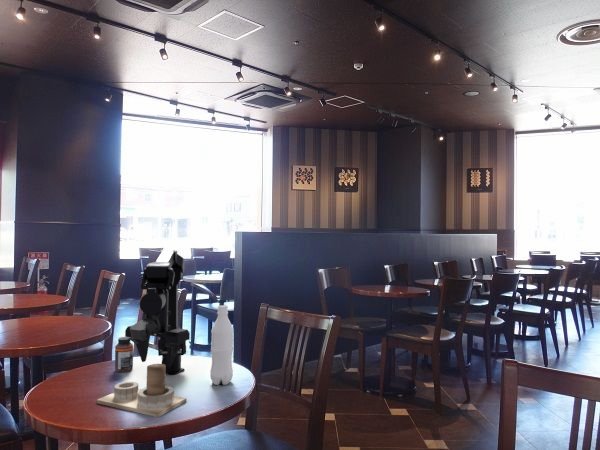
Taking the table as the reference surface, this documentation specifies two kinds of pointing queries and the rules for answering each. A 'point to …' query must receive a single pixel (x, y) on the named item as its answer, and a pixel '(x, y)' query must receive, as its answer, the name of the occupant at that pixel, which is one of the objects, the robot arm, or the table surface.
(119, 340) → the supplement bottle
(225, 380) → the water bottle
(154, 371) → the walnut peg
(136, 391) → the two-ring peg board
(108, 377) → the table surface
